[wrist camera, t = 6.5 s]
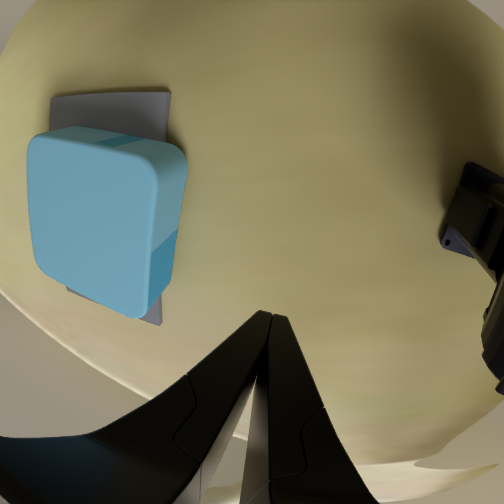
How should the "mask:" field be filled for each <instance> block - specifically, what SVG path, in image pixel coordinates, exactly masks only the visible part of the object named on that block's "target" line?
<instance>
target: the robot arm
mask: <svg viewBox="0 0 504 504" xmlns="http://www.w3.org/2000/svg"><path fill="white" fill-rule="evenodd" d="M471 167H473V170H472V172H470V168H471ZM446 220H447V223H446V225H445V228H444V231H443V233H442V236H441V238H440V244H441V246H442V247H443V248H444V249H447V250H450V251H453V252H456V253H459V254H463V255H466V256H469V257H472V258H475V259H476V260H477V261H478V262H479V264H480V265H481V266H482V267H483V268H484V269H485V271H486V272H487V273H488V274H489V276H490V277H491V278H492V279H493V281H494V282H495V283H496V284H497V286H496V288H495V291H494V294H493V296H492V299H491V301H490V304H489V306H488V308H486V310H485V312H484V315H483V318H484V324H483V328H482V333H481V338H482V344H483V348H484V351H483V353H482V357H483V359H484V361H485V363H486V365H487V367H488V368H489V370H490V371H491V372H492V374H493V375H494V376H495V377H496V378H497V379H498V380H499V381H500V382H499V383H498V385H497V386H496V388H495V390H496V391H497V392H498V393H500V394H502V395H504V178H502V177H500V176H499V175H497V174H495V173H493V172H491V171H489V170H487V169H486V168H484V167H482V166H480V165H478V164H476V163H473V162H470V161H469V162H467V163H466V165H465V167H464V171H463V174H462V178H461V181H460V184H459V187H458V188H457V190H456V193H455V196H454V199H453V202H452V205H451V208H450V211H449V213H448V216H447V219H446ZM447 239H449V240H448V242H447V243H445V241H446V240H447ZM256 376H257V377H256ZM255 380H256V382H255ZM254 383H255V387H254V395H253V403H252V411H251V420H250V428H249V435H248V444H247V451H246V459H245V466H244V474H243V481H242V488H241V496H240V503H239V504H380V503H379V502H378V501H377V500H376V499H375V498H374V497H373V496H372V494H371V493H370V492H369V490H368V488H367V487H366V485H365V483H364V482H363V480H362V478H361V477H360V475H359V473H358V471H357V470H356V468H355V466H354V465H353V463H352V461H351V460H350V458H349V456H348V454H347V453H346V451H345V449H344V447H343V445H342V443H341V442H340V440H339V438H338V436H337V434H336V432H335V430H334V427H333V425H332V423H331V421H330V418H329V416H328V413H327V411H326V408H323V407H324V404H323V401H322V399H321V397H320V394H319V392H318V389H317V387H316V384H315V382H314V380H313V377H312V375H311V372H310V370H309V368H308V365H307V363H306V360H305V358H304V355H303V353H302V351H301V348H300V346H299V343H298V341H297V339H296V336H295V334H294V331H293V329H292V327H291V324H290V322H289V320H288V318H287V317H286V316H283V315H279V314H273V316H272V313H270V312H266V311H262V310H258V311H257V312H256V313H255V314H254V315H253V316H251V317H250V318H249V319H248V320H247V321H246V322H245V323H244V324H243V325H241V326H240V327H239V328H238V329H237V330H236V331H235V332H234V333H233V334H231V335H230V336H229V337H228V338H227V339H226V340H225V341H223V342H222V343H221V344H220V345H219V346H218V347H217V348H215V349H214V350H213V351H212V352H211V353H210V354H208V355H207V356H206V357H205V358H204V359H203V360H201V361H200V362H199V363H198V364H197V365H196V366H194V367H193V368H192V369H191V370H190V371H188V372H187V375H184V376H182V377H181V378H180V379H179V380H178V381H176V382H175V383H174V384H173V385H171V386H170V387H169V388H167V389H166V390H165V391H163V392H162V393H161V394H159V395H158V396H156V397H154V398H153V399H151V400H150V401H148V402H147V403H145V404H143V405H142V406H140V407H138V408H137V409H135V410H133V411H131V412H130V413H128V414H126V415H124V416H123V417H121V418H119V419H117V420H116V421H114V422H112V423H110V424H108V425H107V426H105V427H103V428H101V429H98V430H96V431H93V432H90V433H87V434H82V435H76V436H62V437H43V438H10V437H2V436H0V504H199V503H200V501H201V499H202V497H203V495H204V493H205V491H206V489H207V487H208V485H209V483H210V481H211V479H212V477H213V475H214V473H215V471H216V469H217V467H218V464H219V463H220V461H221V458H222V456H223V454H224V452H225V450H226V447H227V445H228V443H229V441H230V439H231V437H232V434H233V432H234V430H235V428H236V426H237V423H238V421H239V419H240V417H241V414H242V412H243V410H244V407H245V405H246V403H247V400H248V398H249V396H250V393H251V391H252V388H253V386H254Z"/></svg>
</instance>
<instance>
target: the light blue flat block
mask: <svg viewBox="0 0 504 504" xmlns="http://www.w3.org/2000/svg"><path fill="white" fill-rule="evenodd" d="M187 172H188V164H187V160H186V157H185V155H184V154H183V152H182V151H181V150H180V149H179V148H178V147H176V146H175V145H173V144H170V143H166V142H161V141H157V140H152V139H147V138H142V137H137V136H132V135H127V134H122V133H117V132H111V131H105V130H100V129H94V128H87V127H81V126H73V127H68V128H63V129H59V130H54V131H50V132H45V133H41V134H38V135H36V136H34V137H33V138H32V139H31V141H30V143H29V145H28V149H27V195H28V210H29V221H30V230H31V238H32V246H33V252H34V257H35V260H36V263H37V265H38V266H39V268H40V269H41V271H42V272H43V273H44V274H46V275H47V276H49V277H51V278H52V279H54V280H56V281H58V282H59V283H61V284H63V285H65V286H67V287H69V288H70V289H72V290H74V291H76V292H78V293H80V294H82V295H84V296H86V297H88V298H90V299H92V300H94V301H96V302H98V303H100V304H102V305H104V306H106V307H108V308H110V309H112V310H114V311H116V312H118V313H120V314H123V315H125V316H127V317H130V318H141V317H143V316H144V315H145V314H146V313H147V311H148V310H149V309H150V308H151V306H152V305H153V304H154V302H155V301H156V300H157V298H158V297H159V296H160V294H161V293H162V292H163V291H164V289H165V288H166V287H167V285H168V284H169V282H170V280H171V274H172V266H173V258H174V251H175V244H176V237H177V230H178V224H179V218H180V211H181V205H182V200H183V194H184V188H185V183H186V178H187Z"/></svg>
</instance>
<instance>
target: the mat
mask: <svg viewBox="0 0 504 504" xmlns="http://www.w3.org/2000/svg"><path fill="white" fill-rule="evenodd" d="M170 98H171V93H170V92H113V93H95V94H82V95H72V96H63V97H55V98H51V105H50V127H49V132H50V131H54V130H59V129H63V128H68V127H73V126H81V127H87V128H94V129H100V130H105V131H111V132H117V133H122V134H127V135H132V136H137V137H142V138H147V139H152V140H157V141H161V142H166V133H167V124H168V115H169V106H170ZM66 288H67V290H68V291H70V292H72V293H75V294H77V295H79V296H82V297H84V298H86V299H89V300H91V301H94V300H92V299H90V298H88V297H86V296H84V295H82V294H80V293H78V292H76V291H74V290H72V289H70V288H69V287H67V286H66ZM94 302H96V301H94ZM96 303H98V302H96ZM98 304H100V303H98ZM101 305H102V304H101ZM103 306H104V305H103ZM138 319H141V320H143V321H146V322H149V323H152V324H155V325H158V326H160V325H161V323H162V304H161V294H160V296H159V297H158V298H157V300H156V301H155V302H154V304H153V305H152V306H151V308H150V309H149V310H148V311H147V313H146V314H145V315H144V316H143V317H141V318H138Z"/></svg>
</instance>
